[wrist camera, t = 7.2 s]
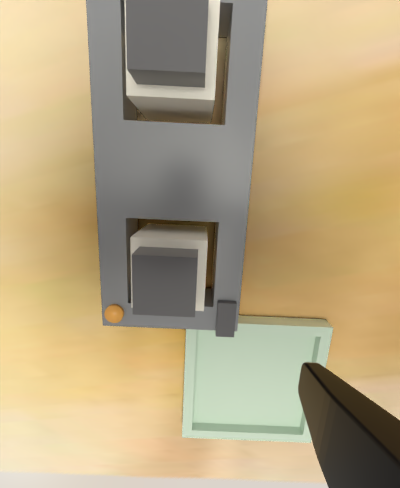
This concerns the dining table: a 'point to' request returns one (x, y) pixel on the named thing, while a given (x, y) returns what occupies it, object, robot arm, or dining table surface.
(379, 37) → the dining table surface
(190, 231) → the plug
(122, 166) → the grey socket board
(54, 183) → the dining table surface
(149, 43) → the twin plug
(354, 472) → the robot arm
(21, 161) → the dining table surface
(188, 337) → the parts tray
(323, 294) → the dining table surface
